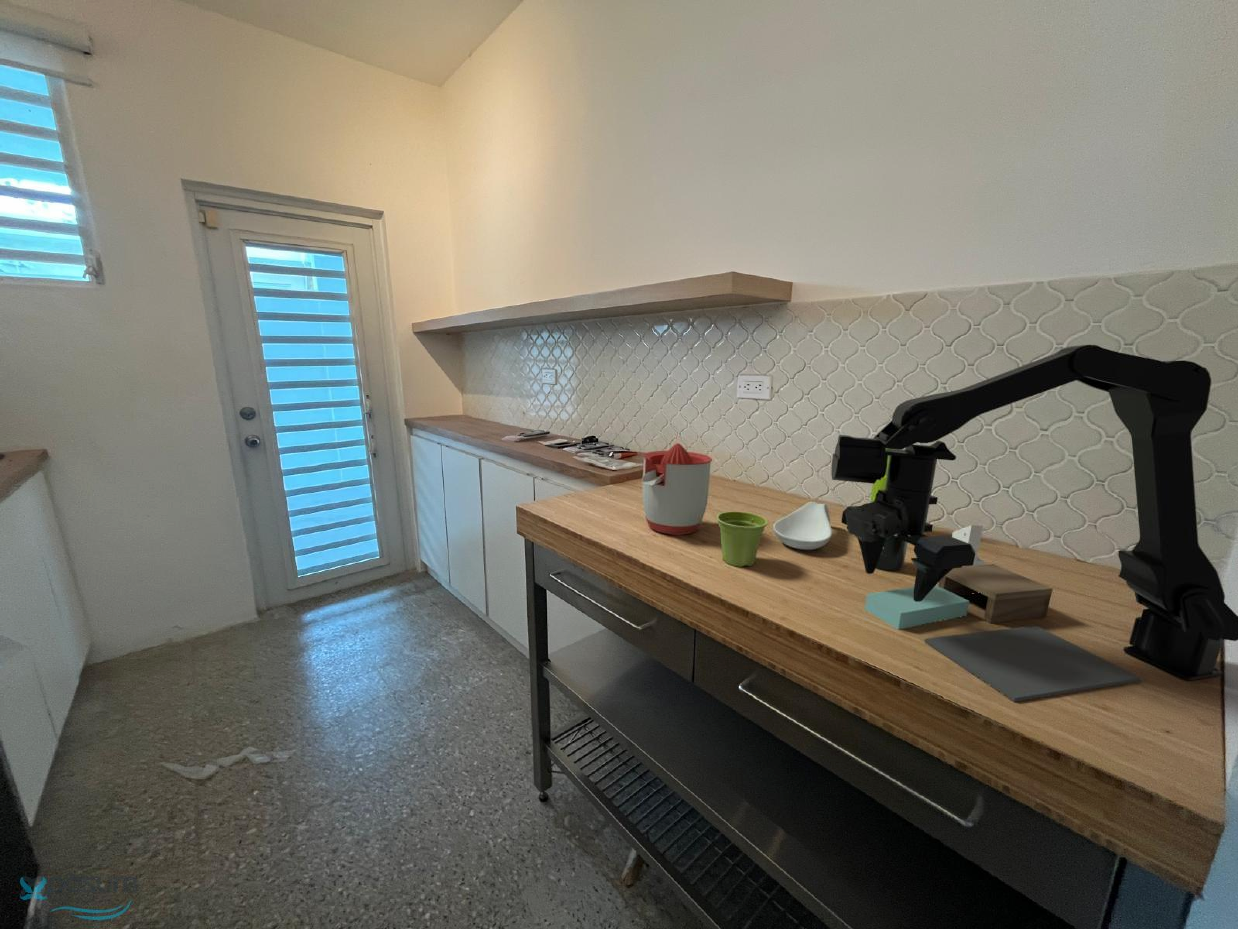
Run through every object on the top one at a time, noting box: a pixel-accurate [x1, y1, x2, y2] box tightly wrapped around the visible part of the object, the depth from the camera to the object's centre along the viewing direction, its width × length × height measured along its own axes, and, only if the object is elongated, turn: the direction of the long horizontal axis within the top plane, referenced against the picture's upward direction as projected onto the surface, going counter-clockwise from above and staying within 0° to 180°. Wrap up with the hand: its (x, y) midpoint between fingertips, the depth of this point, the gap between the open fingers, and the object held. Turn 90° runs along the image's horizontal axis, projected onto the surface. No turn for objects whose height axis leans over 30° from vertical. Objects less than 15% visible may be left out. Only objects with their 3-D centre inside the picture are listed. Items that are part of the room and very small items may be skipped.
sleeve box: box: [937, 563, 1053, 624], centre depth 75 cm, size 9×11×5 cm
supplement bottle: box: [876, 535, 910, 572], centre depth 89 cm, size 7×7×12 cm
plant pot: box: [716, 510, 768, 568], centre depth 89 cm, size 9×9×9 cm
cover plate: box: [864, 584, 970, 630], centre depth 72 cm, size 6×14×3 cm, turn 108°
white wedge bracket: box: [951, 524, 988, 567], centre depth 87 cm, size 4×10×9 cm, turn 169°
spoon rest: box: [772, 501, 833, 551], centre depth 104 cm, size 24×12×7 cm, turn 145°
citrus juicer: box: [641, 443, 713, 536], centre depth 105 cm, size 16×17×20 cm
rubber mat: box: [923, 625, 1142, 703], centre depth 61 cm, size 12×20×1 cm, turn 103°
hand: (892, 586), depth 70 cm, fingers open, 9 cm apart
